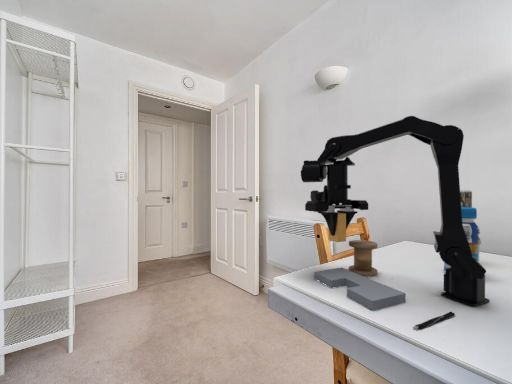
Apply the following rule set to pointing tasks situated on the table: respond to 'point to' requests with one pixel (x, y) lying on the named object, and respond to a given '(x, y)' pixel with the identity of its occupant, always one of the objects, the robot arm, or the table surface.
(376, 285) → the board
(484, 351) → the table surface
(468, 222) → the beverage bottle
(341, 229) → the tan upright block
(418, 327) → the black twisted rod
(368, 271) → the bobbin
